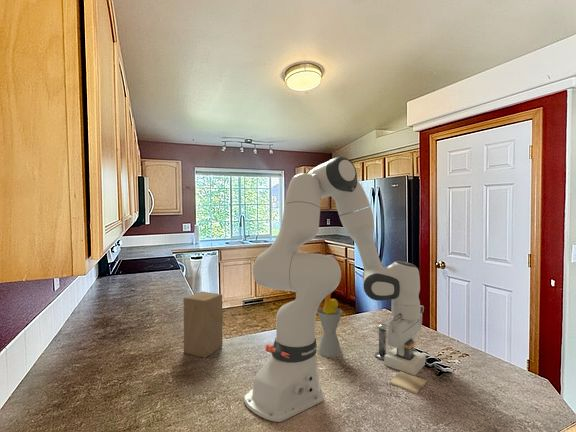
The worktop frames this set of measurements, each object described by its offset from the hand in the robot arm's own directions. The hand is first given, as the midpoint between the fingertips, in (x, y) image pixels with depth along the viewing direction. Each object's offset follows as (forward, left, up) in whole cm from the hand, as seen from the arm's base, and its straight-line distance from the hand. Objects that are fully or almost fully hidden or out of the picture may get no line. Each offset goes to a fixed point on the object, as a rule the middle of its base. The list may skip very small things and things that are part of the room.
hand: (405, 351), depth 103 cm
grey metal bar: (+6, +8, +6) cm, 11 cm away
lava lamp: (-9, +24, -4) cm, 26 cm away
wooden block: (-39, +59, -4) cm, 71 cm away
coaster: (-10, -5, -4) cm, 12 cm away
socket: (0, 0, -4) cm, 4 cm away
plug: (0, 0, -4) cm, 4 cm away
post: (0, +8, -4) cm, 9 cm away
